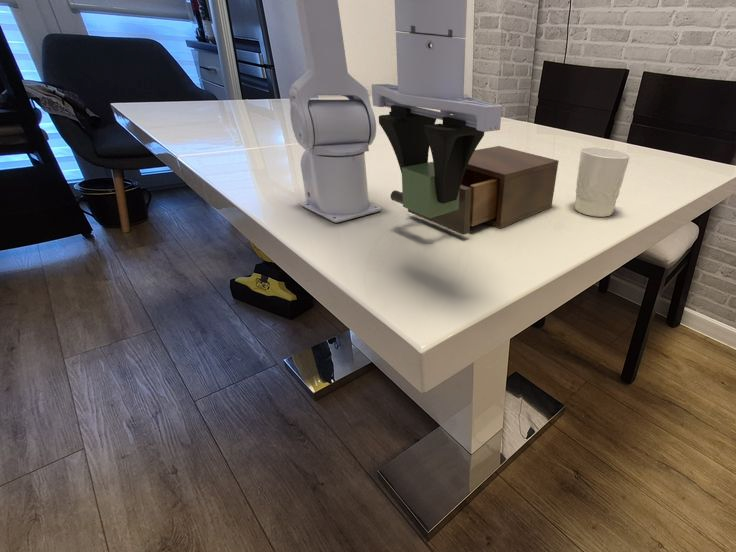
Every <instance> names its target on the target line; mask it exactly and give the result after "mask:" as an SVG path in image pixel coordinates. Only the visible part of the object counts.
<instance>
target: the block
mask: <svg viewBox="0 0 736 552" xmlns="http://www.w3.org/2000/svg"><path fill="white" fill-rule="evenodd" d="M401 189H402V190H401V192H402V193H403V204H402V207H403V208H405V209H407V210H408V209H409V210H412V211H414V212H417V213H419V214H421V215H424V216H426V217H429V218H432V217H435V216H439V215H442V214H445V213H448V212H451V211H454V210H457V209H459V193H458V196H457V200H454V201H451V202H447V203H444V204H442V203H439V202H438V200H437V196H436V189H435V173H434V164H433V161H428V163H423V164H418V165H412V166H407V167H402V174H401Z"/></svg>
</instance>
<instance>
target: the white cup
mask: <svg viewBox="0 0 736 552" xmlns="http://www.w3.org/2000/svg"><path fill="white" fill-rule="evenodd" d="M630 157H631V155H630V154H629V153H627V152H625V151H622V150H619V149H614V148H608V147H600V146H585V147H582V148H581V149H580V155H579V162H578V171H577V177H576V187H575V198H574V199H575V200H574V210H576V212H578V213H581V214H583V215H586V216H590V217H597V218H604V217H610V216H611V215H613V214H614V211H615V207H616V203H617V199H618V198H619V195H620V191H621V188H622V185H623V182H624V178H625V175H626V171H627V168H628V164H629V161H630Z"/></svg>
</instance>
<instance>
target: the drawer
mask: <svg viewBox="0 0 736 552" xmlns="http://www.w3.org/2000/svg"><path fill="white" fill-rule="evenodd" d="M499 186H500V179H499V178H495V177H492V176H489V175H485V174H482V173H479V172H475V171H472V170H469V169H466V170H465V173H464V176H463V179H462V182H461V186H460V189H459V209H457V210H454V211H451V212H448V213H445V214H442V215H439V216H435V217H432V218H429V217H426V216H424V215H421V214H419V213H417V212H414V211H412V210H409V209H407V213H409V214H412V215H415V216H416V217H417V216H418V217H419V218H422V219H425V220H427V221H429V222H431V223H434V224H436V225H438V226H442V227H444V228H446V229H449V230H451V231H453V232H456V233H458V234H460V235H467V234H469V233H470V229H471V228H470V227H472V228H473V227H475V226H479V225H481V224H483V223H484V222H486V221H488V220H491V219H494V218H496V217H497V211H498V199H499ZM390 199H391V200H392V201H394V202H396V203H399V204H401V205H403V193H402V191H399V190H393V191H392V192H391V193H390Z"/></svg>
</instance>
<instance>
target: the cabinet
mask: <svg viewBox="0 0 736 552" xmlns="http://www.w3.org/2000/svg"><path fill="white" fill-rule="evenodd" d="M558 168H559V160H558V159H553V158H550V157H546V156H542V155H537V154H534V153H529V152H525V151H522V150H517V149H513V148H511V147H510V148H509V147H505V146H502V145H497V146H491V147H486V148H480V149H475V151H474V152H473V154H472V156H471V158H470V160H469V163H468V165H467V167H466V169H469V170H472V171H475V172H479V173H482V174H485V175H489V176H492V177H495V178H499V179H500V186H499V199H498V211H497V217H496V218H494V219H491V220H488V221H486V222H483V223H485V224H487V225H490V226H492V227H494V228H498V229H503V228H505V227H508V226H510V225H512V224H515V223H517V222H520V221H522V220H524V219H527V218H530V217H532V216H535V215H536V214H539V213H541V212H544V211H547V210H549V209H551V208H552V207H553V201H554V194H555V188H556V182H557V181H556V180H557V174H558Z"/></svg>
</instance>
